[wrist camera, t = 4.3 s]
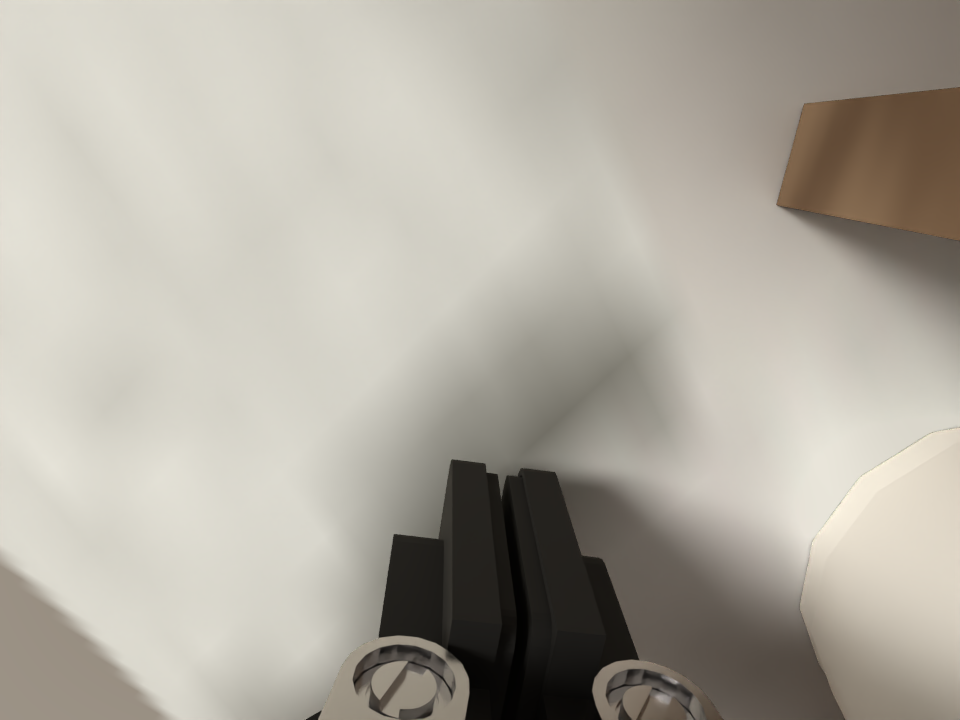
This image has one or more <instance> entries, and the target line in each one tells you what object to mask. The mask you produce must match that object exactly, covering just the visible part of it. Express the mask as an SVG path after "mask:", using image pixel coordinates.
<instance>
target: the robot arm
mask: <svg viewBox="0 0 960 720" xmlns="http://www.w3.org/2000/svg"><path fill="white" fill-rule="evenodd" d="M306 720H723V718H722V717H721V715H720V714H719V712H718V711H717V709H716V707H715V706H714V704H713V703H712V702H711V701H710V699H709V698H708V697H707V696H706V695H705V693H704V692H703V691H702V690H701V689H700V688H699V687H698V686H696V685H695V684H694V683H693V682H691V681H690V680H689V679H688V678H686V677H685V676H683V675H681V674H679V673H677V672H675V671H673V670H672V669H670V668H668V667H665V666H661V665H658V664H655V663H652V662H648V661H639V658H638V655H637V652H636V650H635V647H634V644H633V641H632V638H631V636H630V633H629V630H628V627H627V624H626V622H625V619H624V616H623V613H622V611H621V608H620V605H619V602H618V599H617V597H616V594H615V591H614V588H613V586H612V583H611V580H610V577H609V574H608V572H607V569H606V566H605V564H604V562H603V560H602V559H600V558H596V557H588V556H581V552H580V549H579V546H578V543H577V540H576V536H575V533H574V530H573V527H572V523H571V520H570V517H569V514H568V511H567V507H566V504H565V501H564V498H563V495H562V491H561V488H560V485H559V482H558V478H557V475H556V473H555V472H549V471H541V470H533V469H525V468H521V469H520V471H519V474H518V477H516V476H507V477H506V480H505V484H504V490H503V495H502V501H501V495H500V488H499V480H498V475H497V474H492V473H486V465H485V464H484V463H476V462H468V461H460V460H451V464H450V469H449V475H448V481H447V488H446V494H445V500H444V507H443V513H442V520H441V526H440V533H439V539H432V538H423V537H415V536H406V535H397V534H394V537H393V544H392V550H391V557H390V564H389V571H388V577H387V584H386V591H385V598H384V604H383V611H382V618H381V625H380V631H379V638H378V639H375V640H372V641H370V642H367V643H364V644H362V645H361V646H360V647H358V648H357V649H356V650H354V651H353V652H351V653H350V654H349V656H348V657H347V659H346V660H345V661H344V663H343V664H342V666H341V668H340V670H339V672H338V675H337V677H336V679H335V682H334V684H333V686H332V689H331V691H330V693H329V695H328V698H327V700H326V702H325V705H324V707H323V709H322V711H320V712H318V713H316V714H315V715H313V716H311V717H309V718H308V719H306Z"/></svg>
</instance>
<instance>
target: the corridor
mask: <svg viewBox="0 0 960 720" xmlns="http://www.w3.org/2000/svg"><path fill="white" fill-rule="evenodd" d="M777 205H779V206H784V207H789V208H795V209H800V210H805V211H810V212H815V213H820V214H825V215H831V216H836V217H841V218H846V219H851V220H856V221H861V222H866V223H872V224H877V225H882V226H887V227H892V228H897V229H902V230H907V231H913V232H918V233H923V234H928V235H933V236H938V237H943V238H949V239H954V240H959V241H960V87H957V88H948V89H938V90H929V91H920V92H910V93H901V94H892V95H882V96H873V97H863V98H854V99H845V100H835V101H826V102H817V103H807V104H804V106H803V110H802V114H801V117H800V121H799V125H798V128H797V132H796V136H795V139H794V143H793V147H792V150H791V154H790V157H789V161H788V165H787V168H786V172H785V176H784V179H783V183H782V187H781V190H780V194H779V198H778V201H777Z"/></svg>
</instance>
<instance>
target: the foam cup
mask: <svg viewBox="0 0 960 720" xmlns="http://www.w3.org/2000/svg"><path fill="white" fill-rule="evenodd" d="M799 608H800V611H801V614H802V616H803V619H804V622H805V625H806V628H807V631H808V634H809V637H810V640H811V643H812V645H813V648H814V651H815V654H816V657H817V660H818V663H819V665H820V666H821V668H822V669H823V671H824V672H825V674H826V677H827V680H828V682H829V685H830V688H831V691H832V693H833V695H834V697H835V699H836V701H837V703H838V705H839V707H840V709H841V711H842V713H843V715H844V717H845V719H846V720H960V428H954V429H949V430H943V431H938V432H932V433H930V434H929V435H927V436H925V437H924V438H922V439H921V440H919V441H917V442H916V443H914V444H913V445H911V446H909V447H908V448H906V449H905V450H903V451H901V452H900V453H898V454H896V455H895V456H893V457H892V458H890V459H888V460H887V461H885V462H884V463H882V464H880V465H879V466H877V467H876V468H874V469H872V470H871V471H869V472H868V473H866V474H864V475H863V476H861V477H860V478H859V479H858V480H857V482H856V483H855V484H854V486H853V487H852V488H851V490H850V491H849V492H848V494H847V495H846V497H845V498H844V499H843V501H842V502H841V503H840V505H839V506H838V507H837V509H836V510H835V511H834V513H833V514H832V515H831V517H830V518H829V519H828V521H827V522H826V523H825V525H824V526H823V527H822V529H821V530H820V532H819V533H818V534H817V536H816V537H815V538H814V540H813V542H812V547H811V552H810V557H809V562H808V567H807V572H806V577H805V582H804V587H803V592H802V596H801V601H800V606H799Z"/></svg>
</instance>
